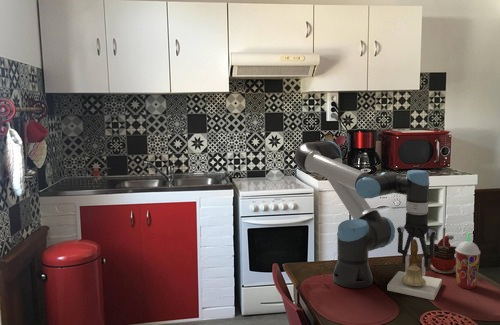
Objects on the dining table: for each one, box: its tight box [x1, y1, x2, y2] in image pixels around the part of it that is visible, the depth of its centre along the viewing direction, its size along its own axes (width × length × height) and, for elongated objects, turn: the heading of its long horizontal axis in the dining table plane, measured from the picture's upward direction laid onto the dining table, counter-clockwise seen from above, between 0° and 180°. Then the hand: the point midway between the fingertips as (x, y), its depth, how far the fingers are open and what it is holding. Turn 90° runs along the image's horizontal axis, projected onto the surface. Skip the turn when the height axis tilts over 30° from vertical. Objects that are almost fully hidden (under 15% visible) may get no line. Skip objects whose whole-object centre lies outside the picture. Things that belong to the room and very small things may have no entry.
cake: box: [428, 227, 457, 274], centre depth 172 cm, size 11×9×18 cm
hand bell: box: [402, 238, 426, 286], centre depth 154 cm, size 8×8×16 cm
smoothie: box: [455, 233, 481, 290], centre depth 157 cm, size 8×8×20 cm
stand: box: [386, 270, 443, 301], centre depth 157 cm, size 16×16×2 cm
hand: (415, 273), depth 157 cm, fingers closed on hand bell, 5 cm apart
